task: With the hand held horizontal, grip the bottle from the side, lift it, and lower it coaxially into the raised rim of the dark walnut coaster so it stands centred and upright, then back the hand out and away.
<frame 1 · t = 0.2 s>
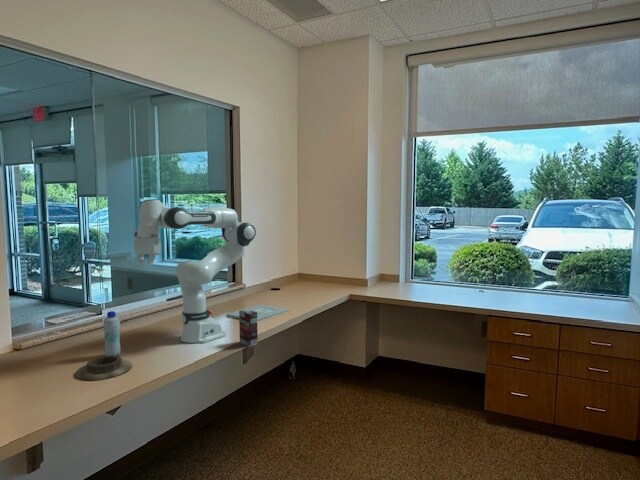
hand: (146, 264, 190), 40 cm above the table, tool pointing down, fingers open, 8 cm apart
bottle: (112, 356, 185), on the table
award plaque: (258, 315, 257), on the table
coaster: (104, 370, 168), on the table
supplement box: (248, 344, 201), on the table
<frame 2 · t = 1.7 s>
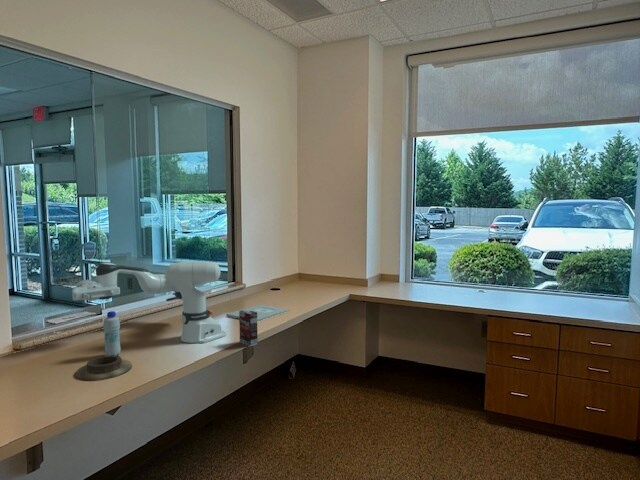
hand: (101, 295, 193), 25 cm above the table, tool horizontal, fingers open, 8 cm apart
nothing on the table moved.
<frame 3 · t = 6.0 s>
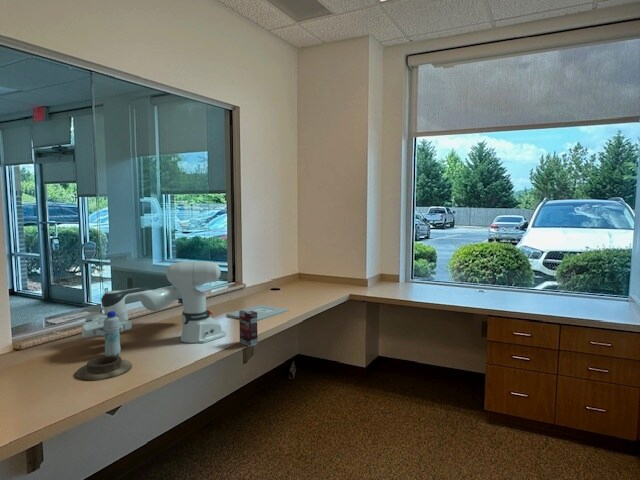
hand: (112, 331, 183), 11 cm above the table, tool horizontal, fingers closed on bottle, 6 cm apart
bottle: (112, 355, 185), on the table, touching gripper
everything else where it was.
when the fingers open (13 cm above the table, at t = 12.6 s): bottle drops 1 cm, resting on coaster.
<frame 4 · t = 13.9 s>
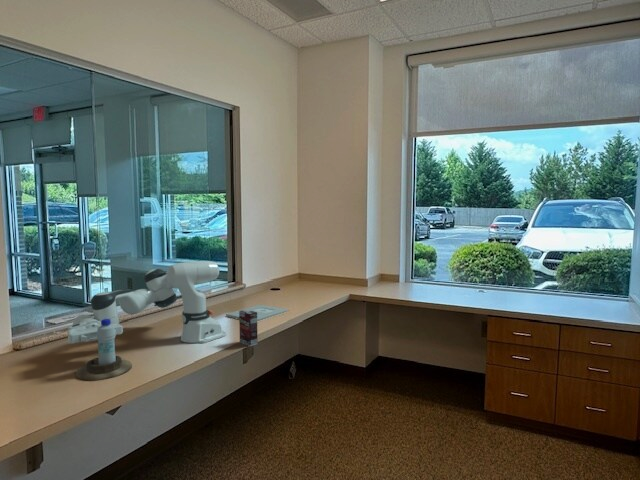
hand: (101, 337, 168), 13 cm above the table, tool horizontal, fingers open, 8 cm apart
bottle: (107, 368, 168), point 1 cm above the table, touching coaster
everything else where it was.
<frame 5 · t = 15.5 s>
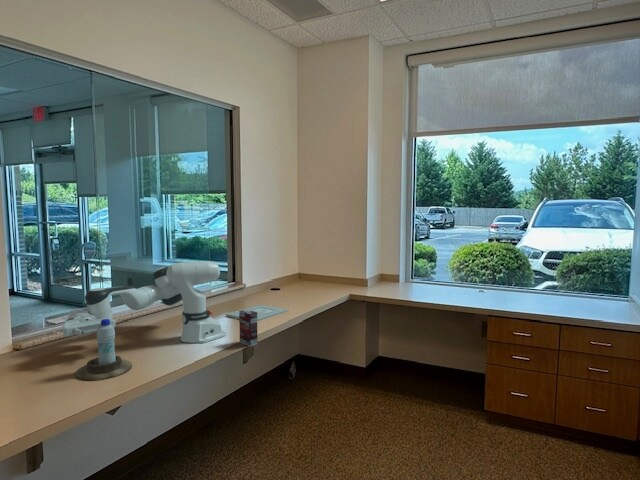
hand: (94, 330, 175), 14 cm above the table, tool horizontal, fingers open, 8 cm apart
nothing on the table moved.
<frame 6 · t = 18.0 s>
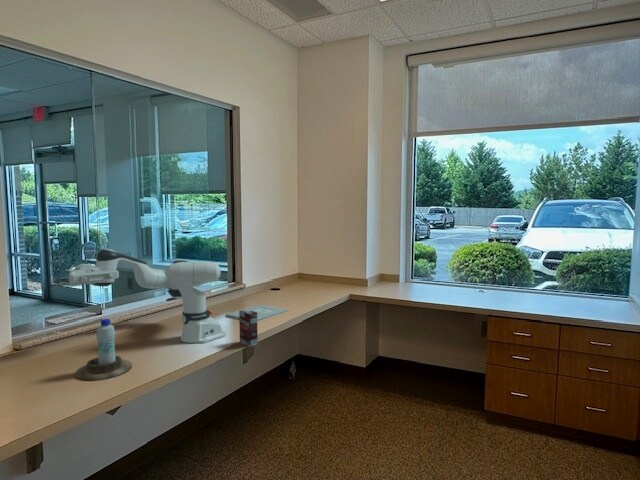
hand: (99, 278, 187), 34 cm above the table, tool horizontal, fingers open, 8 cm apart
nothing on the table moved.
at the end: bottle 0.9 cm off-centre on the coaster, point 0.8 cm above the coaster's base; bottle tilted 0°; the gripper is holding nothing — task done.
